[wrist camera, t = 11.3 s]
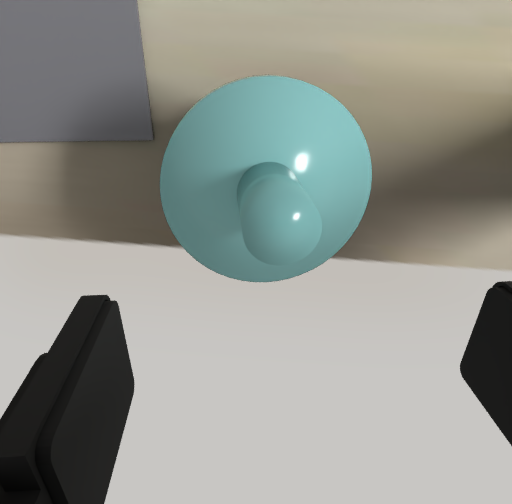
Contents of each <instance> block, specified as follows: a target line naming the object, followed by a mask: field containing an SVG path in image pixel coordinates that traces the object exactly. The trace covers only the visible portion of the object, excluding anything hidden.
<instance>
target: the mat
mask: <svg viewBox="0 0 512 504" xmlns="http://www.w3.org/2000/svg"><path fill="white" fill-rule="evenodd" d="M153 139H154V137H153V129H152V121H151V112H150V104H149V96H148V88H147V79H146V71H145V63H144V55H143V46H142V38H141V30H140V22H139V13H138V5H137V0H0V142H53V141H125V140H153Z"/></svg>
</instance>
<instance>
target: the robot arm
mask: <svg viewBox="0 0 512 504" xmlns="http://www.w3.org/2000/svg"><path fill="white" fill-rule="evenodd" d="M460 371H461V374H462V377H463V378H464V380H465V381H466V383H467V384H468V386H469V387H470V388H471V390H472V391H473V393H474V394H475V395H476V397H477V398H478V400H479V401H480V402H481V404H482V405H483V406H484V408H485V409H486V411H487V412H488V413H489V415H490V416H491V418H492V419H493V420H494V422H495V423H496V425H497V426H498V427H499V429H500V430H501V432H502V433H503V434H504V436H505V437H506V438H507V440H508V441H509V442H510V444H511V446H512V281H507V282H497V283H496V284H495V285H493V287H492V288H490V289H489V290H488V291H487V293H486V296H485V299H484V301H483V304H482V307H481V309H480V312H479V315H478V318H477V320H476V323H475V326H474V328H473V331H472V334H471V337H470V339H469V342H468V345H467V347H466V350H465V353H464V355H463V358H462V361H461V364H460ZM133 393H134V377H133V373H132V368H131V363H130V359H129V354H128V349H127V344H126V339H125V335H124V330H123V325H122V320H121V316H120V311H119V306H118V303H117V301H110V298H109V296H107V295H90V296H81V298H80V299H79V301H78V302H77V304H76V306H75V307H74V309H73V311H72V312H71V314H70V316H69V318H68V319H67V321H66V323H65V324H64V326H63V328H62V330H61V331H60V333H59V335H58V336H57V338H56V340H55V341H54V343H53V345H52V346H51V348H50V350H49V352H48V353H44V354H42V355H40V356H39V358H38V359H37V360H36V361H35V363H34V365H33V366H32V368H31V370H30V371H29V373H28V375H27V376H26V378H25V380H24V381H23V383H22V385H21V386H20V388H19V389H18V391H17V393H16V394H15V396H14V398H13V399H12V401H11V403H10V404H9V406H8V408H7V409H6V411H5V412H4V414H3V416H2V418H1V419H0V504H104V502H105V498H106V494H107V491H108V487H109V483H110V480H111V476H112V472H113V468H114V464H115V461H116V457H117V454H118V450H119V446H120V442H121V438H122V434H123V431H124V427H125V424H126V420H127V416H128V413H129V409H130V405H131V401H132V397H133Z"/></svg>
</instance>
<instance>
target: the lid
mask: <svg viewBox="0 0 512 504" xmlns="http://www.w3.org/2000/svg"><path fill="white" fill-rule="evenodd" d="M371 182H372V165H371V159H370V153H369V149H368V146H367V143H366V140H365V137H364V135H363V133H362V131H361V129H360V127H359V125H358V124H357V122H356V121H355V119H354V118H353V116H352V115H351V113H350V112H349V111H348V110H347V109H346V108H345V107H344V106H343V105H342V104H341V103H340V102H339V101H338V100H336V99H335V98H334V97H333V96H331V95H330V94H328V93H327V92H325V91H323V90H322V89H320V88H318V87H316V86H314V85H311V84H308V83H306V82H303V81H301V80H298V79H294V78H290V77H285V76H276V75H259V76H251V77H246V78H241V79H237V80H235V81H232V82H229V83H227V84H224V85H222V86H220V87H218V88H217V89H215V90H213V91H211V92H210V93H208V94H207V95H206V96H204V97H203V98H202V99H200V100H199V101H198V102H197V103H196V104H195V105H194V106H193V107H192V108H191V109H190V110H189V111H188V112H187V113H186V114H185V116H184V117H183V118H182V120H181V121H180V122H179V124H178V126H177V127H176V129H175V131H174V133H173V135H172V137H171V139H170V141H169V144H168V146H167V149H166V151H165V154H164V158H163V162H162V166H161V174H160V196H161V202H162V207H163V211H164V214H165V217H166V220H167V222H168V224H169V226H170V228H171V230H172V233H173V234H174V236H175V237H176V239H177V240H178V242H179V243H180V244H181V245H182V247H183V248H184V249H185V250H186V251H187V252H188V253H189V254H190V255H191V256H192V257H193V258H195V259H196V260H197V261H198V262H200V263H201V264H202V265H204V266H205V267H207V268H209V269H211V270H213V271H215V272H216V273H219V274H221V275H224V276H227V277H229V278H234V279H237V280H242V281H250V282H272V281H279V280H284V279H288V278H292V277H295V276H298V275H301V274H303V273H306V272H308V271H310V270H312V269H314V268H316V267H317V266H319V265H321V264H323V263H324V262H325V261H327V260H328V259H329V258H331V257H332V256H333V255H334V254H335V253H336V252H337V251H339V250H340V249H341V248H342V247H343V246H344V244H345V243H346V242H347V241H348V240H349V238H350V237H351V236H352V234H353V233H354V231H355V230H356V228H357V227H358V225H359V223H360V221H361V219H362V217H363V215H364V212H365V209H366V207H367V204H368V200H369V196H370V191H371Z"/></svg>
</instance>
